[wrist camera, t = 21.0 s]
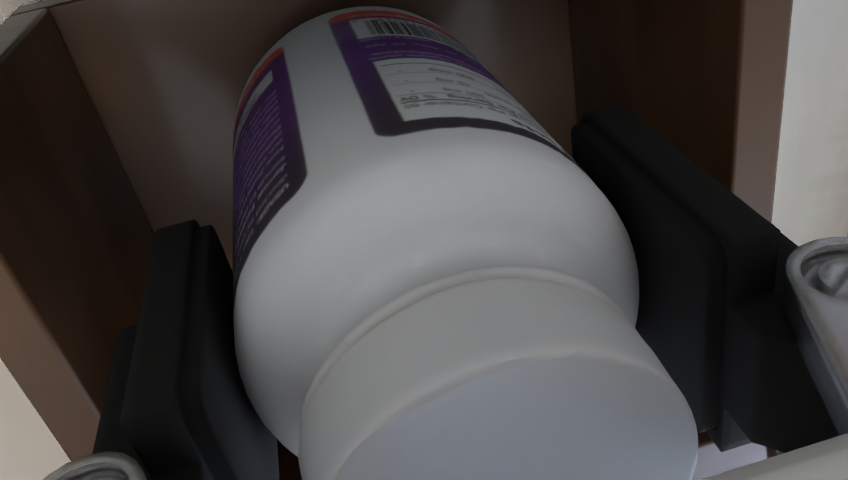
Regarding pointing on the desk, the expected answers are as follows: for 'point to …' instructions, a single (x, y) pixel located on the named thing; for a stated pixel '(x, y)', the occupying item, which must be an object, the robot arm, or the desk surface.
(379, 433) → the pill bottle
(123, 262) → the drawer
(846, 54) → the desk surface
